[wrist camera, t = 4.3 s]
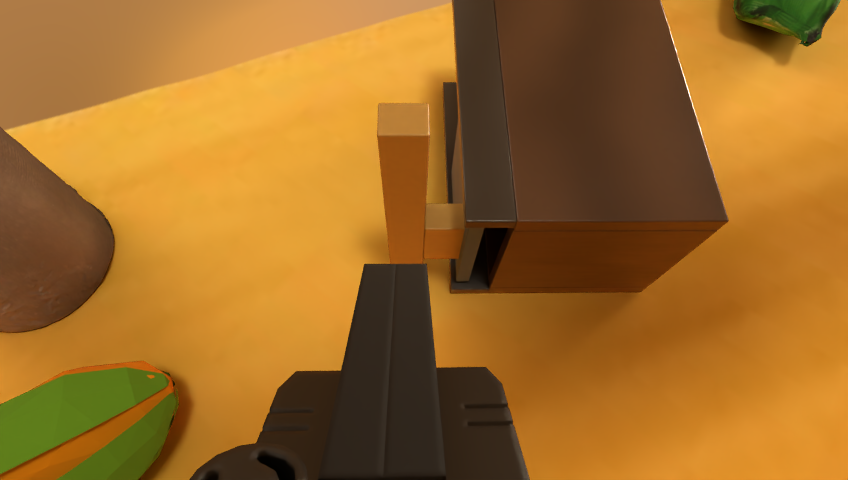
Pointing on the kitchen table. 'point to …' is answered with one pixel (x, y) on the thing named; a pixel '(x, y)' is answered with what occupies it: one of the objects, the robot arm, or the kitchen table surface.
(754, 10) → the snack package
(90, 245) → the pillar candle
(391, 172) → the sliding door
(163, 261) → the kitchen table surface
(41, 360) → the kitchen table surface
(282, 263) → the kitchen table surface
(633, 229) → the box
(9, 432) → the corn
